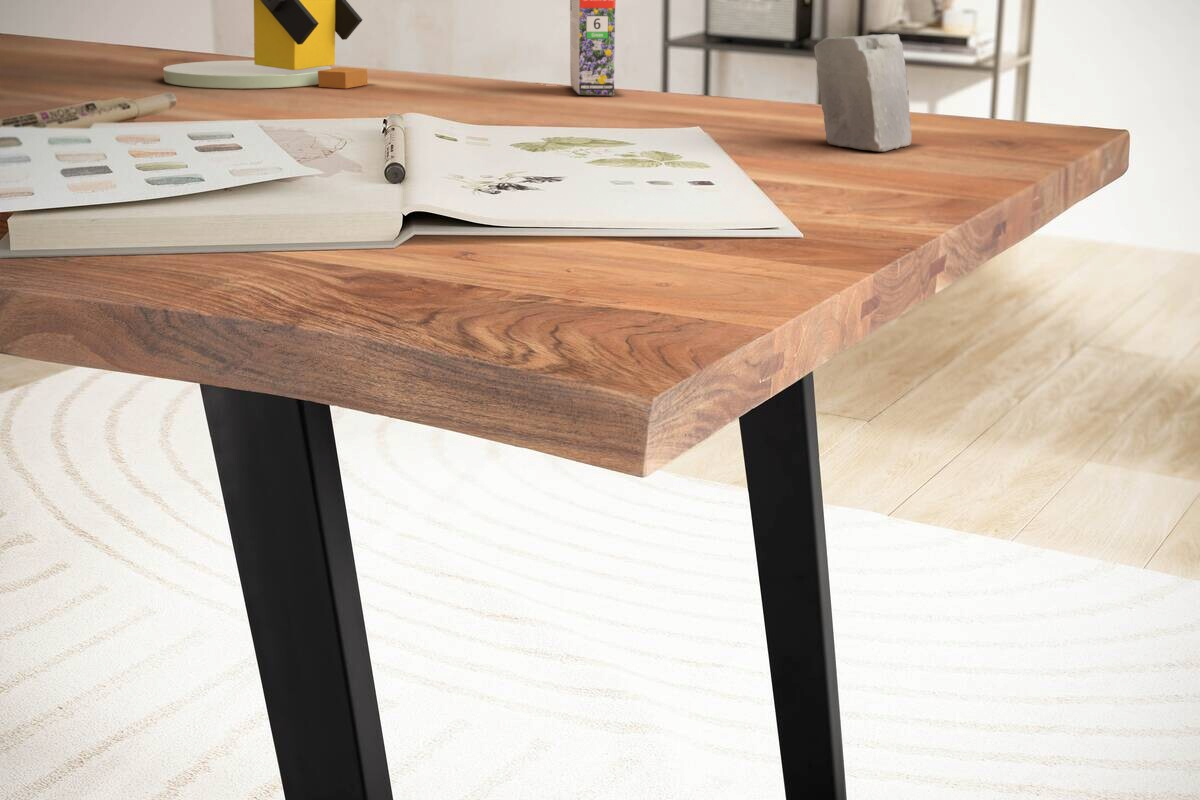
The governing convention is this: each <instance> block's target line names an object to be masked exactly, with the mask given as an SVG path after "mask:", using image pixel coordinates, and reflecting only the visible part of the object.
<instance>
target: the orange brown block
mask: <svg viewBox="0 0 1200 800" xmlns="http://www.w3.org/2000/svg"><path fill="white" fill-rule="evenodd" d="M318 82H319V84H318V88H328V89H329V88H330V89H346V90H347V89H351V88H358V87H362V86H368V69H367V68H355V67H334V68H331V69H327V70H320V71H318Z"/></svg>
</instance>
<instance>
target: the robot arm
mask: <svg viewBox="0 0 1200 800" xmlns="http://www.w3.org/2000/svg"><path fill="white" fill-rule="evenodd" d="M260 1H261V2H262V3H263V4H264V5H265V6H266V8H267V9H268V10H269V11H270V12H271V14H272V15H273V16H274V17H275V18H276V20H277V21H278V22H279V23H280V24H281V25H282V27H283V28H284V29H285V30H286V31H287V33H288V34H289V35H290V36H291V37H292V38H293V40H294V41H295V42H296V43H297V44H298V45H299V44H303V43H304V41H305V40H306V39H307V38H308V36H309V35H310V34H311V33H312V31H313V30H314V29H315V28H316V27H317V25H318V24H319V23H318V22H317V21H316V20H315V18H314V17H313V16H312V15H311V14H310V13H309V11H308V10H307V9H306V8H305V7H304V5H303V4H302V3H301V2H300V1H299V0H260ZM362 22H363V18H362V17H361V16H360V15H359V14H358V12H357V11H356V10H355V9H354V7H353V6H352V5H351V4H350V3H349V2H348V1H347V0H335V34H337V35H338V37H339V38H340V39H341V40H343V41H344V40H348V39H349V38H350V36H351V35H352V33H354V32H355V30H356V29H357V28H358V26H359V25H360V24H361V23H362Z"/></svg>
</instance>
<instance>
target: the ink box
mask: <svg viewBox="0 0 1200 800" xmlns="http://www.w3.org/2000/svg"><path fill="white" fill-rule="evenodd" d="M569 34H570V35H569V48H570V49H569V51H570V52H569V70H570V71H569V72H570V73H569V74H570V76H569V78H570V86H571V88H572V89H573V91H575V92H576V94H578V95H579V96H615V52H616V51H615V50H616V49H615V46H616V45H615V44H616V43H615V42H616V0H569ZM572 86H574V87H572Z"/></svg>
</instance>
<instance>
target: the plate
mask: <svg viewBox="0 0 1200 800" xmlns="http://www.w3.org/2000/svg"><path fill="white" fill-rule="evenodd" d="M327 69H332V67H331V66H323V67H316V68H308V69H301V70H288V69H281V68H274V67H267V66H260V65H255V64H254V60H253V59H252V60H251V59H250V60H211V61H209V60H208V61H195V62H184V63H176V64H169V65H166V66H165V67H163V68H162V75H163V81H164V83H167V84H169V85H174V86H181V87H188V88H203V89H204V88H205V89H228V90H229V89H231V90H232V89H233V90H235V89H237V90H247V89H249V90H251V89H253V90H254V89H255V90H256V89H257V90H258V89H284V88H285V89H287V88H299V87H301V88H302V87H309V86H310V87H311V86H316V85H318V86H319V82H318V71H320V70H327Z"/></svg>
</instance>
